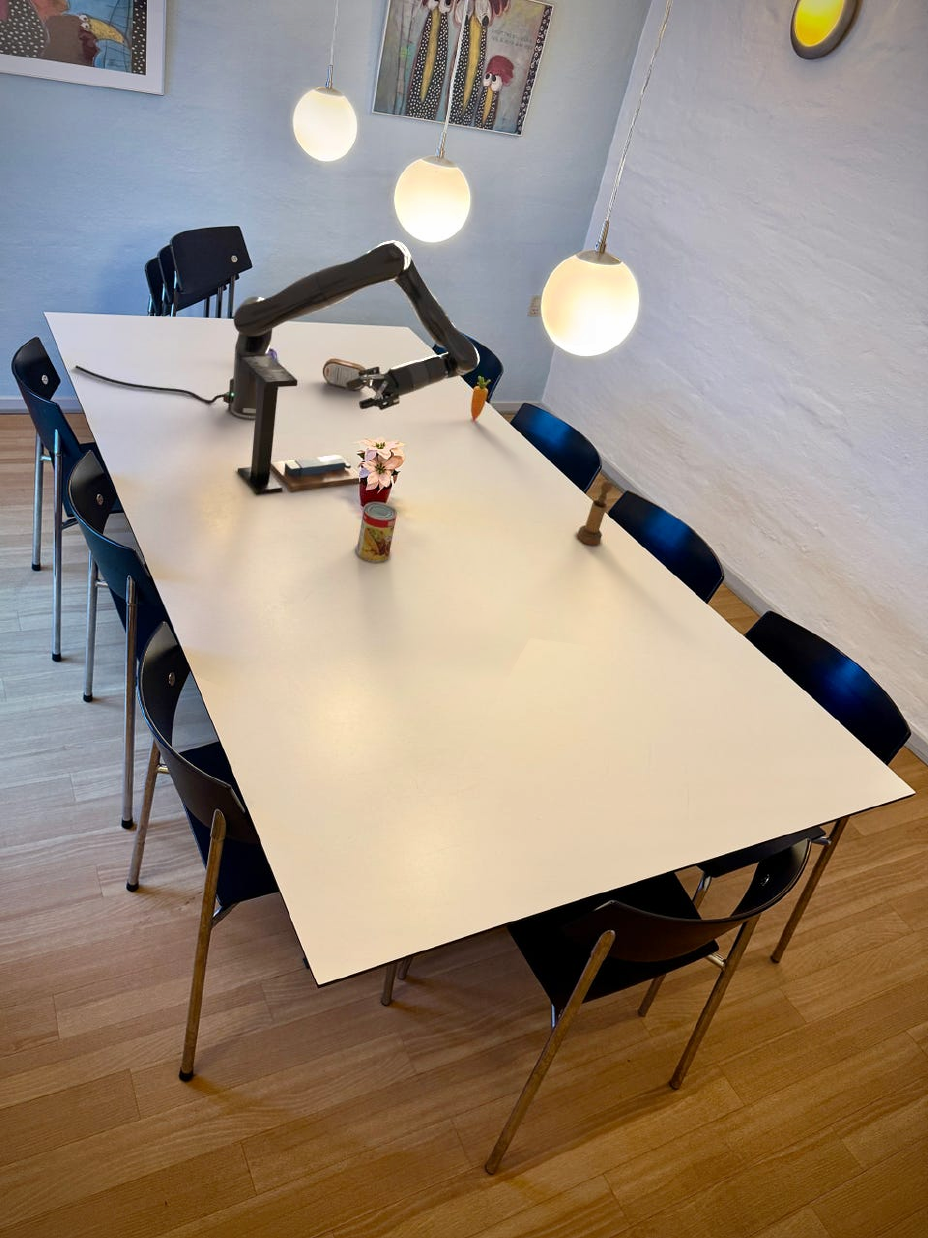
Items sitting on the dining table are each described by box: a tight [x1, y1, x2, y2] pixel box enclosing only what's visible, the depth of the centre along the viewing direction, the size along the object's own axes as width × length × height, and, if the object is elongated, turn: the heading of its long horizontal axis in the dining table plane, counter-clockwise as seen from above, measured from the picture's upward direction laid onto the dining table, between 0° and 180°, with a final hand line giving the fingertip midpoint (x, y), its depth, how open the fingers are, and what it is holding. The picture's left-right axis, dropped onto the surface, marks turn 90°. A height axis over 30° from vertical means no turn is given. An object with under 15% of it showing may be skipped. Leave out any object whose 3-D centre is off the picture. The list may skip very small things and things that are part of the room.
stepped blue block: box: [284, 457, 352, 477], centre depth 238 cm, size 18×4×3 cm, turn 127°
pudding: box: [268, 347, 286, 369], centre depth 289 cm, size 12×12×5 cm
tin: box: [322, 358, 367, 392], centre depth 288 cm, size 15×3×8 cm, turn 84°
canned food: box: [356, 501, 398, 563], centre depth 211 cm, size 8×8×12 cm
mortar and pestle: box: [576, 480, 613, 546], centre depth 238 cm, size 7×6×18 cm
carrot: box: [470, 375, 491, 421], centre depth 287 cm, size 5×5×15 cm
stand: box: [237, 356, 299, 496], centre depth 221 cm, size 8×14×31 cm, turn 36°
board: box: [270, 454, 360, 492], centre depth 239 cm, size 21×13×2 cm, turn 126°
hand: (353, 396), depth 233 cm, fingers open, 8 cm apart
